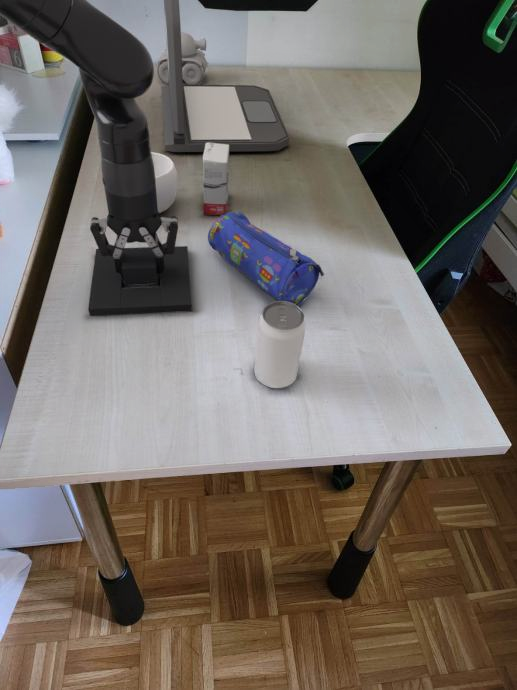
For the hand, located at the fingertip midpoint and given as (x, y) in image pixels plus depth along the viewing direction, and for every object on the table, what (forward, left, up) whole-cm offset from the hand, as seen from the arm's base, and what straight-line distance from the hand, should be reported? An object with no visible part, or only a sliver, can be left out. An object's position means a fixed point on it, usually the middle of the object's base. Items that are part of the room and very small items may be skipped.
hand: (140, 272), depth 89 cm
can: (+20, -23, -2) cm, 31 cm away
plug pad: (0, 0, -1) cm, 1 cm away
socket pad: (0, 0, -2) cm, 2 cm away
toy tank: (+11, +98, -2) cm, 99 cm away
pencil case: (+21, 0, -2) cm, 21 cm away
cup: (+1, +24, -2) cm, 24 cm away
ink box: (+15, +25, -2) cm, 29 cm away
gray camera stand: (+20, +67, -2) cm, 70 cm away
